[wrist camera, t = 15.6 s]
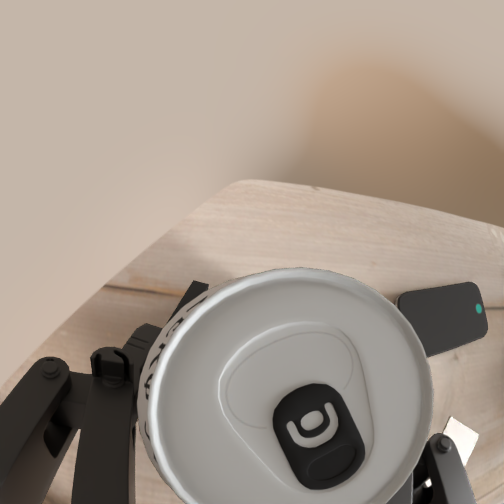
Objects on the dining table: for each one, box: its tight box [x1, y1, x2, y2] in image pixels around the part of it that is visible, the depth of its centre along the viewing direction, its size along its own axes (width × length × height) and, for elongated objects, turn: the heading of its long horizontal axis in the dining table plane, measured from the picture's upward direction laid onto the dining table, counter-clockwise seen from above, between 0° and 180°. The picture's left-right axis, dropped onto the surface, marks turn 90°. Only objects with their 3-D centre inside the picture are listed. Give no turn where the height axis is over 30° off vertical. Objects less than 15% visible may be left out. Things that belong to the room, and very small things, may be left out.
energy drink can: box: [137, 267, 434, 504], centre depth 11 cm, size 6×6×15 cm
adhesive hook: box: [425, 417, 479, 487], centre depth 19 cm, size 3×3×3 cm
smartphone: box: [395, 282, 488, 357], centre depth 28 cm, size 8×1×15 cm
